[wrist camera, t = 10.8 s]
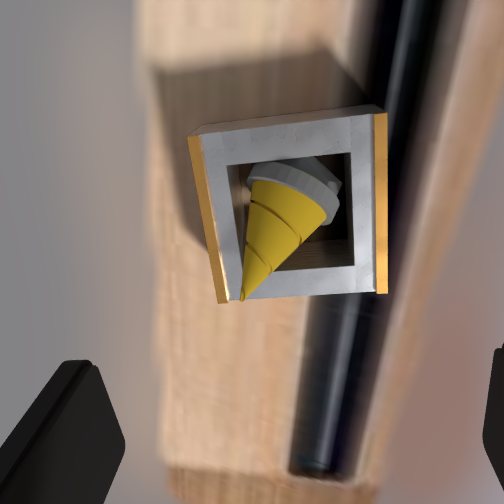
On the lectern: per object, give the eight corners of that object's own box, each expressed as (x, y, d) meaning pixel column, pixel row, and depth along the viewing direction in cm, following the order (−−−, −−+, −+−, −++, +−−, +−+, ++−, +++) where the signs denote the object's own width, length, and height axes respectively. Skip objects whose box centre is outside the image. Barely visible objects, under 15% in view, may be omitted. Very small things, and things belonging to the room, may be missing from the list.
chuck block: (203, 124, 26) (186, 137, 22) (373, 103, 24) (387, 112, 21) (228, 271, 30) (217, 303, 26) (375, 260, 28) (387, 293, 25)
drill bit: (355, 181, 27) (288, 327, 25) (278, 153, 28) (210, 289, 26) (363, 137, 22) (281, 316, 20) (269, 105, 23) (183, 271, 21)
